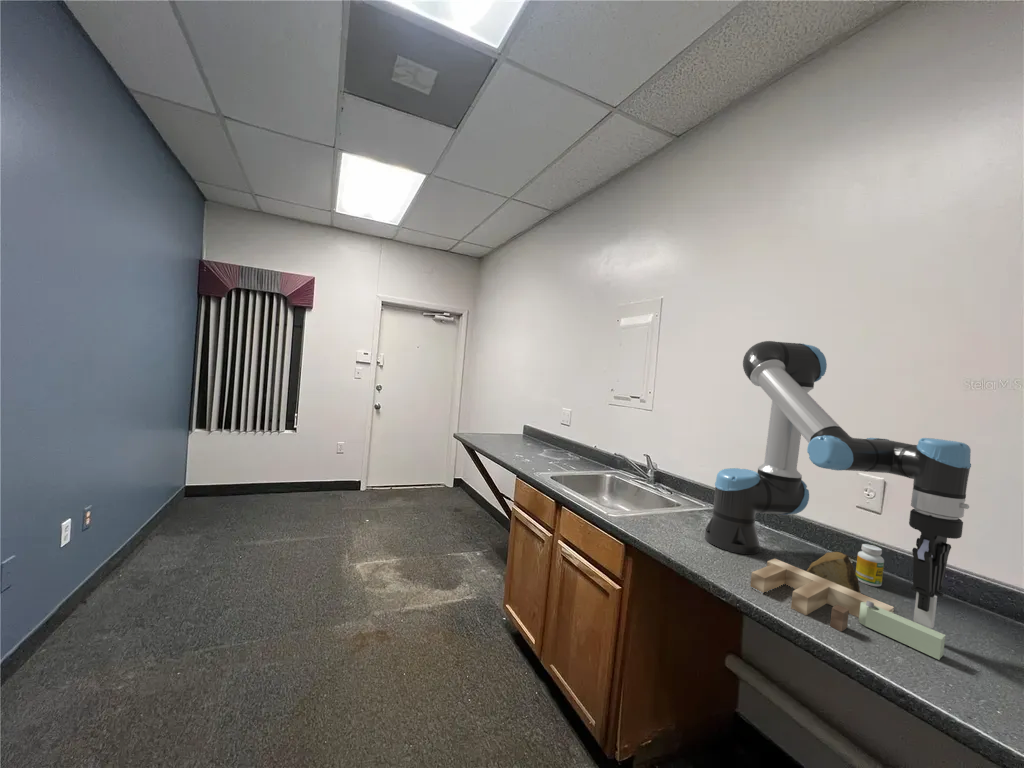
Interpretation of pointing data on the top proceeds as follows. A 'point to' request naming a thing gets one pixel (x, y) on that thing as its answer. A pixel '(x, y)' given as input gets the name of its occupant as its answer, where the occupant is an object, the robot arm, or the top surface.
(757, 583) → the stool frame
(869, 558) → the supplement bottle
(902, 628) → the hinged leg
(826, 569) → the rock
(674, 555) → the top surface
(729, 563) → the top surface
